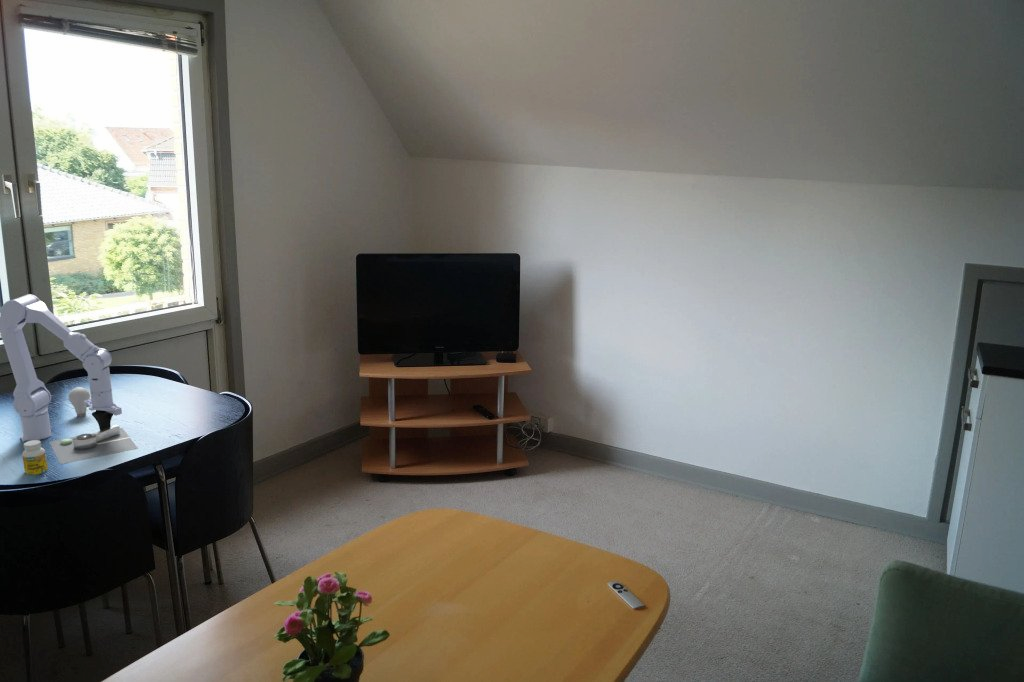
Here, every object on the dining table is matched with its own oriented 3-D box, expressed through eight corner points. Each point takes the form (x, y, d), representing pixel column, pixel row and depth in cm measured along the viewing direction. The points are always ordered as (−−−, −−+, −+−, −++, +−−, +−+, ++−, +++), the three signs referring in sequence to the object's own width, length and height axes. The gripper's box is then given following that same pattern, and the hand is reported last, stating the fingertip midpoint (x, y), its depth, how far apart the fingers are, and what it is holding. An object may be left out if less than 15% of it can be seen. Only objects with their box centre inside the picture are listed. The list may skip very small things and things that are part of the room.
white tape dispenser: (84, 451, 228) (82, 441, 228) (69, 447, 231) (67, 437, 230) (125, 434, 241) (124, 425, 241) (111, 431, 244) (110, 422, 243)
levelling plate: (49, 446, 235) (48, 439, 235) (122, 432, 247) (121, 425, 247) (61, 469, 220) (60, 461, 220) (138, 453, 232) (137, 445, 231)
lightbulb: (95, 419, 257) (91, 387, 254) (75, 424, 253) (71, 391, 250) (88, 415, 261) (84, 383, 258) (68, 419, 257) (64, 387, 254)
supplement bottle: (47, 470, 219) (43, 437, 217) (49, 477, 215) (44, 444, 213) (25, 474, 217) (20, 441, 214) (26, 481, 212) (21, 448, 210)
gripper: (72, 389, 236) (78, 432, 240) (104, 398, 230) (109, 442, 233) (94, 383, 242) (99, 425, 246) (126, 391, 236) (130, 434, 239)
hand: (105, 433), depth 240 cm, fingers closed, pressing on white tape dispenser
